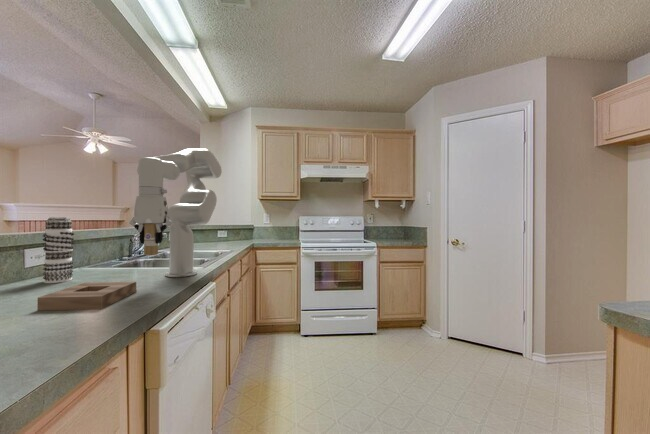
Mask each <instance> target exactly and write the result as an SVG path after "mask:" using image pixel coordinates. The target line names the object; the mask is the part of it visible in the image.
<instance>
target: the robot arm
mask: <svg viewBox="0 0 650 434" xmlns="http://www.w3.org/2000/svg"><path fill="white" fill-rule="evenodd" d="M136 169H137V170H136V171H137V175H138V195H137V196H136V198H135V203H134V207H133V208H134V212H133V217H132V218H131V219H130V221H129V222H128V223H129V225H130V226H132V227H134V228H135V229H136V230H137V231H138V233H139V241H140V244H143V245H144V225H145V222H146V220H147V219H150V220H151V222H152V224H156V228H157V232H156V244H158V245H159V244H162V241H163V236H164V235H163V234H164V233H163V232H164V231H165V230H166V229H167V228H168V227H169V261H168V262H169V264H168V265H169V267H168V269H169V271H166V272H165V273H164V274H165V277H170V278H182V277H183V278H184V277H191V276H194V275H197V273H198V270H196V269H194V266H195V264H194V243H195V242H194V239H195V237H194V232H193V230H192V229H191V228H190V227H191V226H204V225H207V224H208V223H209V222H210V220H211V218H212V215H213V213H214V211H215V209H216V205H217V202H218V201H217V195H216V193H215V191H214V190H211V189H206V188H207V187H206V185H205V183H203V181H202V180H201V179H219V178H220V177H221V176H222V173H223V172H222V170H223V169H222V166H221V164H220V162H219V160H218V159H217V158H216V156H215V154H214V153H213V152H212V151H211V150H209V149H207V148H184V149H183V150H180V151H177V152H175V153H170V154H169V153H168V154H165V155H159V156H153V157H148V156H145V157H140V158H139V159H138V164H137V168H136ZM182 173H185V177H186V182H187V185H186V187H185V189H184V190H183V191H182V194H181V196H180V198H179V203H174V204H171V205H170V206H169V207H168V202H167V198H166V197H167V196H164V194H167V193H168V190H167V189H165V188H164V182H168V181H169V182H170V181H172V182H173V181H176V180H177V179H178V178H179V177H180V174H182Z"/></svg>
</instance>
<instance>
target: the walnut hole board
mask: <svg viewBox="0 0 650 434" xmlns="http://www.w3.org/2000/svg"><path fill="white" fill-rule="evenodd" d="M135 293H137V281H102V282H101V281H96V282H95V281H92V282H91V281H89V282H88V281H87V282H82V283H79V284H76V285H72V286H69V287H67V288H64V289H61V290H58V291H54V292H51V293H47V294H44V295H41V296H38V297H37V305H36V306H37V309H36V310H37V311H60V310H61V311H66V310H67V311H70V310H101V309H104V308H107V307H108V306H110V305H112V304H114V303H116V302H119V301H120V300H122V299H125V298H126V297H129V296H131V295H132V294H135Z"/></svg>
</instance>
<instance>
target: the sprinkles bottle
mask: <svg viewBox="0 0 650 434" xmlns="http://www.w3.org/2000/svg"><path fill="white" fill-rule="evenodd" d="M156 232H157V228H156V224H152V222H151V220H150V219H147V220H146V222H145V225H144V243H143V251H144V252H143V255H144V256H156V255H159V243H158V244H156Z"/></svg>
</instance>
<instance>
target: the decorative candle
mask: <svg viewBox="0 0 650 434" xmlns="http://www.w3.org/2000/svg"><path fill="white" fill-rule="evenodd" d="M44 222H45V229H44V233H43V234H42V237H43V238H42V241H43V242H44V243H43V244H42V245H43V249H42V250H43V253H45V259H44V263H43V264H42V266H43V267H44V268H43V269H42V270H44V272H43V277H42V279H43V283H44V284H54V283H65V282H69V281H72V280H73V276H74V274H73V272H74V270H73V269H72V268H73V267H74V266H73V264H74V262H73V257H72V251H74V247H73V246H72V245H74V244H75V242H73V241H74V237H73V236H75V233H74V231H73V227H72V226H73V224H72V223H73V221H72V220H71V218H69V217H60V216H59V217H57V216H56V217H52V216H51V217H48V219H47V220H46V221H44Z"/></svg>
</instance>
